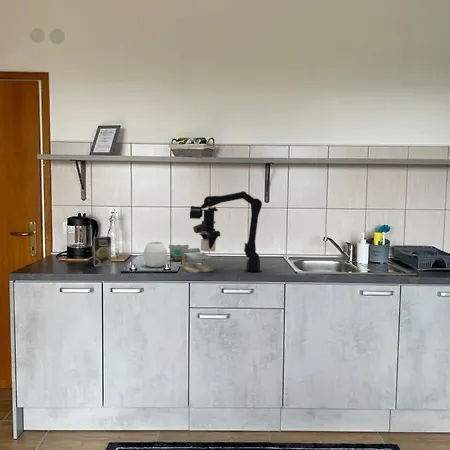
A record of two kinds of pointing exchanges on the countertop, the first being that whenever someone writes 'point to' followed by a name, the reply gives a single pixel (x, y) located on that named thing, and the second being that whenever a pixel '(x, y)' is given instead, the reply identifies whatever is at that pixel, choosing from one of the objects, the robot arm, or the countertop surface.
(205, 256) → the trapdoor
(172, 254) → the food container
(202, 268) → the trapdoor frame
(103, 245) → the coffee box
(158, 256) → the white round vase
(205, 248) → the beige cube
